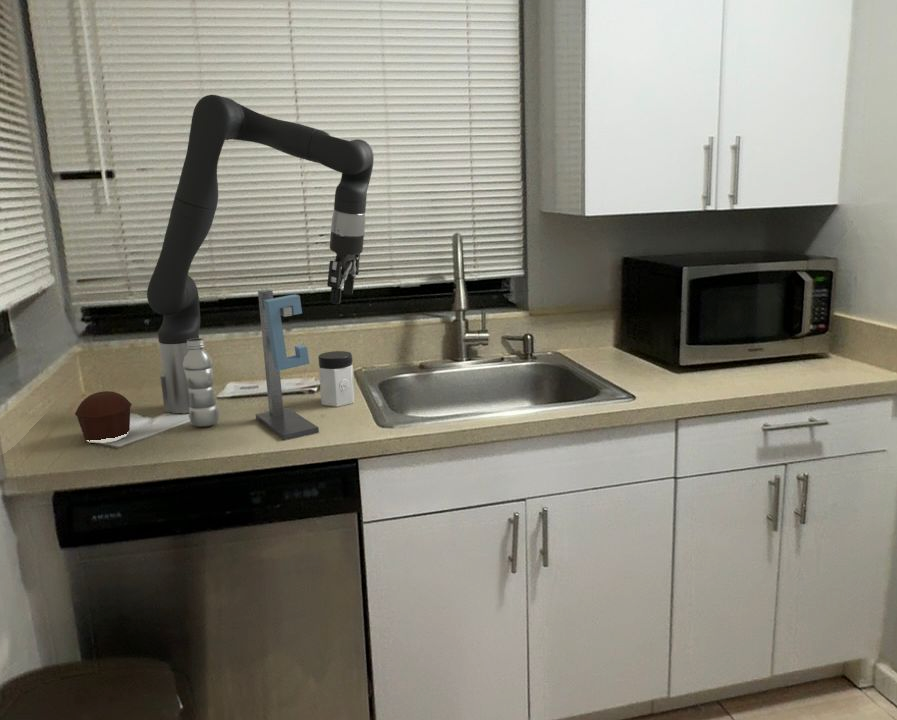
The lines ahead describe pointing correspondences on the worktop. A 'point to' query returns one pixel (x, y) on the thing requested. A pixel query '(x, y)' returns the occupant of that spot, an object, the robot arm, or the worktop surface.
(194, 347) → the plastic bottle
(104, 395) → the muffin
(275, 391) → the stand
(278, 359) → the c link
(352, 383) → the jar
